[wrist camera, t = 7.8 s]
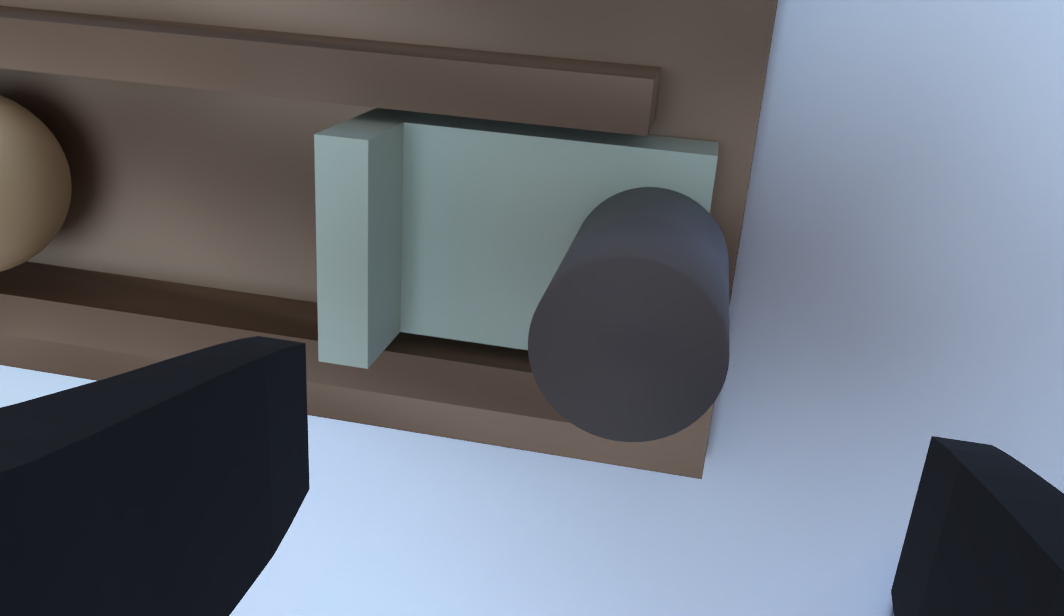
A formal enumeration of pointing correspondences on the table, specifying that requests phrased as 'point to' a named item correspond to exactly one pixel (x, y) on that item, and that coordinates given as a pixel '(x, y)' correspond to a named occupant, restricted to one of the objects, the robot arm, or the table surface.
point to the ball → (29, 185)
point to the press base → (289, 175)
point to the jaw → (530, 258)
